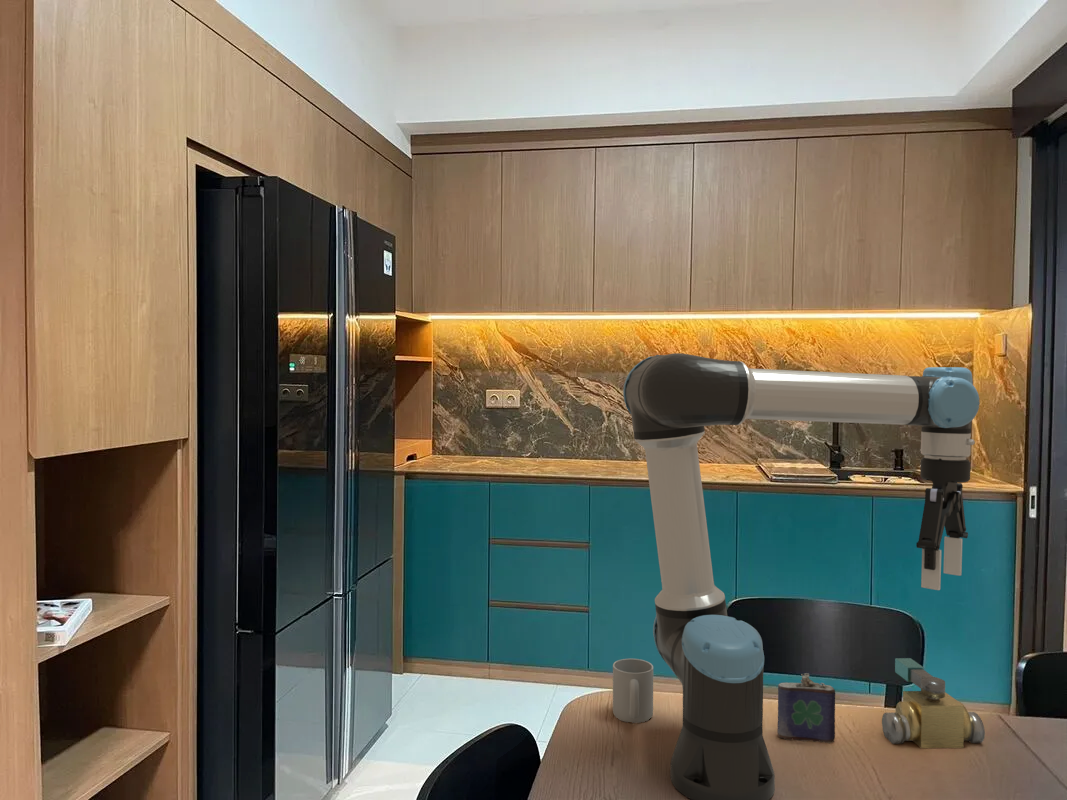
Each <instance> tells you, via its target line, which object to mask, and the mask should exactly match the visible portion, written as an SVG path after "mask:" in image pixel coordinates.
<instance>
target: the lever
mask: <svg viewBox="0 0 1067 800" xmlns="http://www.w3.org/2000/svg"><path fill="white" fill-rule="evenodd" d="M894 667H895V668H894V672H895V673H896V675H898V676H900V677H901V678H902V679H903V680H905V682H908V683H913V684H914V685H915V686H917V687H918V688H919V689H920V691H921V693H922V694H923V695H925V696H927V697H931V698H944V697H945V692H946V681H945V680H944V679H942V678H939V677H936V676H933V675H931V674H930V673H929V672H927V671H926V670H924V669H925V667H923V666H922V665H921V664H919V662H917V661H916V660H914V659H912V658H910V657H907V658H906V657H904V658H903V657H901V658H896V657H895V658H894Z"/></svg>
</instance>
